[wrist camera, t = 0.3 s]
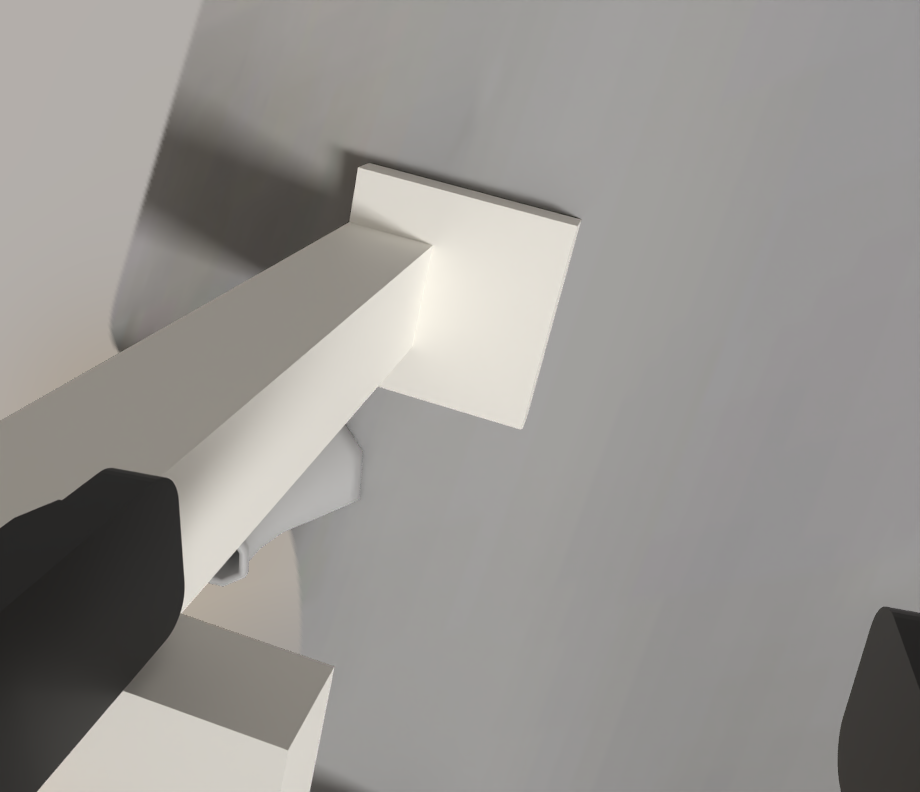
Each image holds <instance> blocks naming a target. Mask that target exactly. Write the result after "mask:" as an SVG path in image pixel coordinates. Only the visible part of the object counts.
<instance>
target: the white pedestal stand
mask: <svg viewBox="0 0 920 792" xmlns="http://www.w3.org/2000/svg"><path fill="white" fill-rule="evenodd" d="M580 223H581V219H577V218H574V217H570V216H566V215H562V214H559V213H555V212H551V211H548V210H544V209H540V208H536V207H533V206H529V205H525V204H521V203H518V202H514V201H510V200H506V199H503V198H499V197H495V196H491V195H488V194H484V193H480V192H476V191H473V190H469V189H465V188H461V187H458V186H454V185H450V184H447V183H443V182H439V181H435V180H432V179H428V178H424V177H420V176H417V175H413V174H409V173H405V172H402V171H398V170H394V169H390V168H387V167H383V166H379V165H375V164H372V163H367V164H365V165H363V166H360V167H358V171H357V177H356V183H355V190H354V196H353V202H352V208H351V214H350V221H349V223H347V224H345V225H343V226H342V227H340V228H338V229H336V230H335V231H333V232H331V233H329V234H328V235H326V236H324V237H322V238H321V239H319V240H317V241H315V242H314V243H312V244H310V245H308V246H306V247H305V248H303V249H301V250H299V251H298V252H296V253H294V254H292V255H291V256H289V257H287V258H285V259H284V260H282V261H280V262H278V263H277V264H275V265H273V266H271V267H270V268H268V269H266V270H264V271H263V272H261V273H259V274H257V275H255V276H254V277H252V278H250V279H248V280H247V281H245V282H243V283H241V284H240V285H238V286H236V287H234V288H233V289H231V290H229V291H227V292H226V293H224V294H222V295H220V296H219V297H217V298H215V299H213V300H212V301H210V302H208V303H206V304H205V305H203V306H201V307H199V308H197V309H196V310H194V311H192V312H190V313H189V314H187V315H185V316H183V317H182V318H180V319H178V320H176V321H175V322H173V323H171V324H169V325H168V326H166V327H164V328H162V329H161V330H159V331H157V332H155V333H154V334H152V335H150V336H148V337H146V338H145V339H143V340H141V341H139V342H138V343H136V344H134V345H132V346H131V347H129V348H127V349H125V350H124V351H122V352H120V353H118V354H117V355H115V356H113V357H111V358H110V359H108V360H106V361H104V362H103V363H101V364H99V365H98V366H95V367H94V368H92V369H90V370H88V371H87V372H85V373H83V374H82V375H80V376H78V377H76V378H74V379H73V380H71V381H69V382H67V383H66V384H64V385H62V386H61V387H59V388H57V389H55V390H53V391H52V392H50V393H48V394H46V395H45V396H43V397H41V398H39V399H38V400H36V401H34V402H32V403H31V404H29V405H27V406H25V407H24V408H22V409H20V410H18V411H17V412H15V413H13V414H11V415H9V416H8V417H6V418H4V419H2V420H1V421H0V528H1V527H2V526H4V525H5V524H6V523H8V522H9V521H10V520H12V519H13V518H15V517H17V516H20V515H22V514H25V513H27V512H30V511H32V510H34V509H37V508H39V507H42V506H44V505H47V504H49V503H51V502H54V501H56V500H63V499H64V498H66V497H67V496H68V495H70V494H71V493H72V492H74V491H75V490H76V489H78V488H79V487H80V486H82V485H83V484H84V483H86V482H87V481H88V480H90V479H91V478H92V477H93V476H95V475H96V474H97V473H99V472H100V471H102V470H104V469H107V468H117V469H122V470H128V471H133V472H139V473H144V474H149V475H155V476H160V477H166V478H169V479H170V480H172V481H173V483H174V484H175V486H176V488H177V492H178V497H179V510H180V524H181V538H182V552H183V567H184V581H185V592H184V600H183V605H182V609H181V612H180V616H179V618H178V621H177V623H176V625H175V627H174V629H173V631H172V633H171V634H170V636H169V637H168V638H167V640H166V641H165V642H164V643H163V644H162V646H161V647H160V648H159V649H158V650H157V651H156V653H155V654H154V655H153V656H152V657H151V659H150V660H149V661H148V662H147V663H146V664H145V666H144V667H143V668H142V669H141V670H140V671H139V673H138V674H137V675H136V676H135V677H134V678H133V680H132V681H131V682H130V683H129V684H128V686H127V687H126V688H125V689H124V690H123V691H122V693H121V694H120V695H119V696H118V697H117V698H116V700H115V701H114V702H113V703H112V704H111V705H110V707H109V708H108V709H107V710H106V711H105V713H104V714H103V715H102V716H101V717H100V718H99V720H98V721H97V722H96V723H95V724H94V725H93V727H92V728H91V729H90V730H89V731H88V732H87V734H86V735H85V736H84V737H83V738H82V740H81V741H80V742H79V743H78V744H77V745H76V747H75V748H74V749H73V750H72V751H71V752H70V754H69V755H68V756H67V757H66V758H65V759H64V761H63V762H62V763H61V764H60V765H59V767H58V768H57V769H56V770H55V771H54V772H53V774H52V775H51V776H50V777H49V778H48V779H47V781H46V782H45V783H44V784H43V785H42V786H41V788H40V789H39V790H38V791H37V792H310V788H311V783H312V778H313V773H314V767H315V762H316V757H317V752H318V747H319V742H320V737H321V732H322V727H323V722H324V717H325V712H326V707H327V702H328V697H329V691H330V686H331V681H332V676H333V671H334V666H331V665H329V664H326V663H323V662H320V661H317V660H314V659H311V658H308V657H305V656H303V655H300V654H297V653H294V652H291V651H288V650H285V649H282V648H279V647H276V646H273V645H271V644H268V643H265V642H262V641H259V640H256V639H253V638H250V637H248V636H244V635H242V634H239V633H236V632H233V631H230V630H227V629H224V628H221V627H219V626H216V625H213V624H210V623H207V622H204V621H201V620H198V619H195V618H192V617H189V616H187V615H184V614H181V613H182V612H183V611H184V610H185V609H186V608H187V606H188V605H189V604H190V603H191V602H192V601H193V599H194V598H195V597H196V596H197V595H198V594H199V593H200V591H201V590H202V589H203V588H204V587H205V585H206V584H207V583H208V582H209V581H210V580H211V579H212V578H213V576H214V575H215V574H216V573H217V572H218V571H219V569H220V568H221V567H222V566H223V565H224V564H225V563H226V561H227V560H228V559H229V558H230V557H231V556H232V554H233V553H234V552H235V551H236V550H237V549H238V548H239V546H240V545H241V544H242V543H243V542H244V541H245V539H246V538H247V537H248V536H249V535H250V534H251V533H252V531H253V530H254V529H255V528H256V527H257V526H258V524H259V523H260V522H261V521H262V520H263V519H264V517H265V516H266V515H267V514H268V513H269V512H270V511H271V509H272V508H273V507H274V506H275V505H276V504H277V502H278V501H279V500H280V499H281V498H282V497H283V496H284V494H285V493H286V492H287V491H288V490H289V489H290V487H291V486H292V485H293V484H294V483H295V482H296V481H297V479H298V478H299V477H300V476H301V475H302V474H303V472H304V471H305V470H306V469H307V468H308V467H309V465H310V464H311V463H312V462H313V461H314V460H315V459H316V457H317V456H318V455H319V454H320V453H321V452H322V450H323V449H324V448H325V447H326V446H327V445H328V444H329V442H330V441H331V440H332V439H333V438H334V437H335V435H336V434H337V433H338V432H339V431H340V430H341V429H342V427H343V426H344V425H345V424H346V423H347V422H348V420H349V419H350V418H351V417H352V416H353V415H354V413H355V412H356V411H357V410H358V409H359V408H360V407H361V405H362V404H363V403H364V402H365V401H366V400H367V398H368V397H369V396H370V395H371V394H372V393H373V392H374V390H375V389H376V388H377V387H381V388H384V389H388V390H391V391H394V392H398V393H401V394H404V395H408V396H411V397H414V398H418V399H421V400H424V401H428V402H431V403H434V404H438V405H441V406H444V407H448V408H451V409H454V410H458V411H461V412H464V413H468V414H471V415H474V416H478V417H481V418H484V419H488V420H491V421H494V422H497V423H501V424H504V425H507V426H511V427H514V428H517V429H521V430H522V428H523V426H524V423H525V421H526V418H527V415H528V412H529V408H530V404H531V401H532V397H533V394H534V390H535V386H536V383H537V379H538V375H539V372H540V368H541V364H542V361H543V357H544V354H545V350H546V346H547V343H548V339H549V335H550V332H551V328H552V325H553V321H554V317H555V314H556V310H557V306H558V303H559V299H560V295H561V292H562V288H563V285H564V281H565V277H566V274H567V270H568V266H569V263H570V259H571V255H572V252H573V248H574V245H575V241H576V237H577V234H578V230H579V226H580Z"/></svg>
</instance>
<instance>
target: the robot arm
mask: <svg viewBox="0 0 920 792" xmlns="http://www.w3.org/2000/svg"><path fill="white" fill-rule="evenodd" d="M184 592H185V581H184V567H183V552H182V538H181V524H180V510H179V497H178V492H177V488H176V486H175V484H174V483H173V481H172V480H170V479H169V478H166V477H160V476H155V475H149V474H144V473H139V472H133V471H128V470H122V469H117V468H107V469H104V470H102V471H100V472H99V473H97V474H96V475H95V476H93V477H92V478H91V479H90V480H88V481H87V482H86V483H84V484H83V485H82V486H80V487H79V488H78V489H76V490H75V491H74V492H72V493H71V494H70V495H68V496H67V497H66V498H64V499H63V500H56V501H54V502H51V503H49V504H47V505H44V506H42V507H39V508H37V509H34V510H32V511H30V512H27V513H25V514H22V515H20V516H17V517H15V518H13V519H12V520H10V521H9V522H8V523H6V524H5V525H4V526H2V527H1V528H0V792H37V791H38V790H39V789H40V788H41V786H42V785H43V784H44V783H45V782H46V781H47V779H48V778H49V777H50V776H51V775H52V774H53V772H54V771H55V770H56V769H57V768H58V767H59V765H60V764H61V763H62V762H63V761H64V759H65V758H66V757H67V756H68V755H69V754H70V752H71V751H72V750H73V749H74V748H75V747H76V745H77V744H78V743H79V742H80V741H81V740H82V738H83V737H84V736H85V735H86V734H87V732H88V731H89V730H90V729H91V728H92V727H93V725H94V724H95V723H96V722H97V721H98V720H99V718H100V717H101V716H102V715H103V714H104V713H105V711H106V710H107V709H108V708H109V707H110V705H111V704H112V703H113V702H114V701H115V700H116V698H117V697H118V696H119V695H120V694H121V693H122V691H123V690H124V689H125V688H126V687H127V686H128V684H129V683H130V682H131V681H132V680H133V678H134V677H135V676H136V675H137V674H138V673H139V671H140V670H141V669H142V668H143V667H144V666H145V664H146V663H147V662H148V661H149V660H150V659H151V657H152V656H153V655H154V654H155V653H156V651H157V650H158V649H159V648H160V647H161V646H162V644H163V643H164V642H165V641H166V640H167V638H168V637H169V636H170V634H171V633H172V631H173V629H174V627H175V625H176V623H177V621H178V618H179V616H180V612H181V609H182V605H183V600H184ZM838 776H839V783H840V788H841V792H920V613H918V612H912V611H907V610H901V609H896V608H890V607H882V608H881V609H880V610H879V611H878V612H877V614H876V615H875V617H874V620H873V622H872V625H871V628H870V631H869V634H868V638H867V641H866V644H865V648H864V651H863V654H862V657H861V661H860V664H859V667H858V671H857V674H856V677H855V680H854V684H853V687H852V690H851V693H850V697H849V700H848V703H847V707H846V710H845V713H844V716H843V720H842V724H841V729H840V735H839V744H838Z"/></svg>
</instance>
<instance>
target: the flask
mask: <svg viewBox="0 0 920 792" xmlns="http://www.w3.org/2000/svg"><path fill="white" fill-rule="evenodd" d="M362 459H363V451H362V450H361V448H360V446H359V445H358V443H357V442H356V440H355V439H354V437H353V435H352V434H351V432H350V431H349V429H348V427H347V426H346V424H345V425H344V426H343V427H342V429H341V430H340V431H339V432H338V433H337V434H336V435H335V437H334V438H333V439H332V440H331V441H330V442H329V444H328V445H327V446H326V447H325V448H324V449H323V450H322V452H321V453H320V454H319V455H318V456H317V457H316V459H315V460H314V461H313V462H312V463H311V464H310V465H309V467H308V468H307V469H306V470H305V471H304V472H303V474H302V475H301V476H300V477H299V478H298V479H297V481H296V482H295V483H294V484H293V485H292V486H291V487H290V489H289V490H288V491H287V492H286V493H285V494H284V496H283V497H282V498H281V499H280V500H279V501H278V502H277V504H276V505H275V506H274V507H273V508H272V509H271V511H270V512H269V513H268V514H267V515H266V516H265V517H264V519H263V520H262V521H261V522H260V523H259V524H258V526H257V527H256V528H255V529H254V530H253V531H252V533H251V534H250V535H249V536H248V537H247V538H246V539H245V541H244V542H243V543H242V544H241V545H240V546H239V548H238V549H237V550H236V551H235V552H234V553H233V554H232V556H231V557H230V558H229V559H228V560H227V561H226V563H225V564H224V565H223V566H222V567H221V568H220V569H219V571H218V572H217V573H216V574H215V575H214V576H213V578H212V579H211V580H210V581H209V582H208V583H210V584H215V585H218V586H222V587H223V586H226V585H228V584H231V583H233V582H235V581H238V580H240V579H242V578H244V577H246V576H247V574H248V567H249V566H248V565H249V561H250V559H251V558H252V557H253V556H254V555H255V554H256V553H257V551H258V550H259V549H260V548H262V547H263V546H264V545H266V544H267V543H269V542H270V541H271V540H273V539H274V538H275V537H277V536H278V535H280V534H281V533H283V532H285V531H287V530H289V529H292V528H294V527H297V526H299V525H302V524H305V523H307V522H310V521H312V520H314V519H317V518H319V517H321V516H324V515H326V514H328V513H330V512H333V511H335V510H337V509H339V508H342V507H344V506H346V505H349V504H351V503H353V502H355V501H358V500H360V487H361V473H362Z"/></svg>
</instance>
